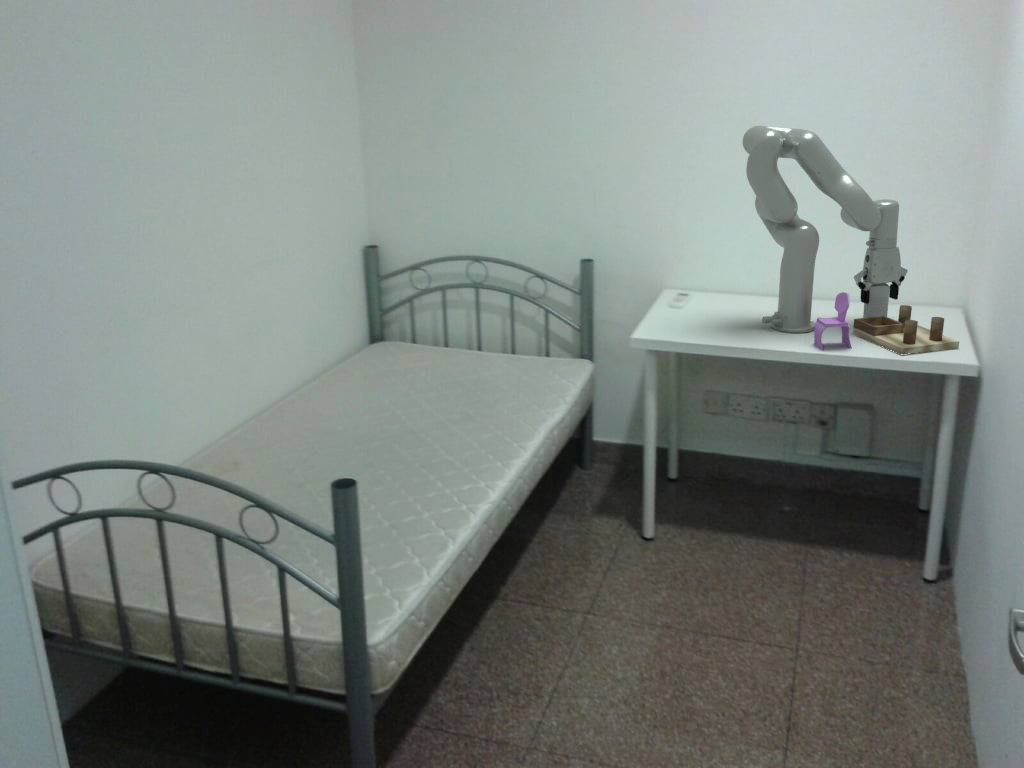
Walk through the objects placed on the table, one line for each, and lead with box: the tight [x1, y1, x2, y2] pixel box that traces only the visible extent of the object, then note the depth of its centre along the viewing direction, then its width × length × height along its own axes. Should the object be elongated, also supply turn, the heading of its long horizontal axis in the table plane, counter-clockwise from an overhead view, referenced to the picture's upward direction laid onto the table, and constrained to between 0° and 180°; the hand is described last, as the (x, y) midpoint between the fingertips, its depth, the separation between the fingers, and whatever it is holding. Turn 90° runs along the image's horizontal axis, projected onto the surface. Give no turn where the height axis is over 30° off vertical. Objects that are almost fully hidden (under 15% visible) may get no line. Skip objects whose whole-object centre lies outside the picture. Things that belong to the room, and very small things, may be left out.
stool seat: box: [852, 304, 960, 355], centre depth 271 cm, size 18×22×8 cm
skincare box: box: [862, 283, 890, 318], centre depth 288 cm, size 6×4×12 cm
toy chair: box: [813, 291, 853, 351], centre depth 268 cm, size 8×9×15 cm
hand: (879, 300), depth 288 cm, fingers open, 9 cm apart
